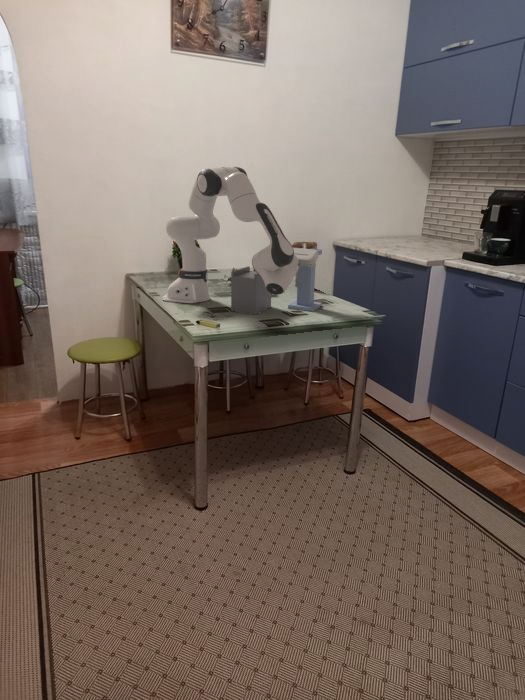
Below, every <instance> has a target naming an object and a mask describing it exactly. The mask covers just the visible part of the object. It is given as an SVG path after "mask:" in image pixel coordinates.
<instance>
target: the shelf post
mask: <svg viewBox="0 0 525 700" xmlns="http://www.w3.org/2000/svg"><path fill="white" fill-rule="evenodd" d="M310 249H315V250H317V251H318V256H321V255H322V254H323V249H321V248H320V249H319V248H318V246H317V247H313V248H310ZM316 262H317V261H316ZM316 262H315V264H314V265H313V266H310V267H306V266H300V267H299V269H298V285H297V287H296V288H297V291H296V300H294V301H293V302H291V303H290V304H288V305H287V309H289V308H291V310H297V309H299V310H298V311H304V310H306V312H312V311H313V312H315V311H317V310H318V309H319V308H320V306H321V307H322V305H323V303H322V302H318V301H315V300H314V299H315V284H316V283H315V282H316V281H315V280H316V268H317V267H316V264H317V263H316ZM317 308H318V309H317Z"/></svg>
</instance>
